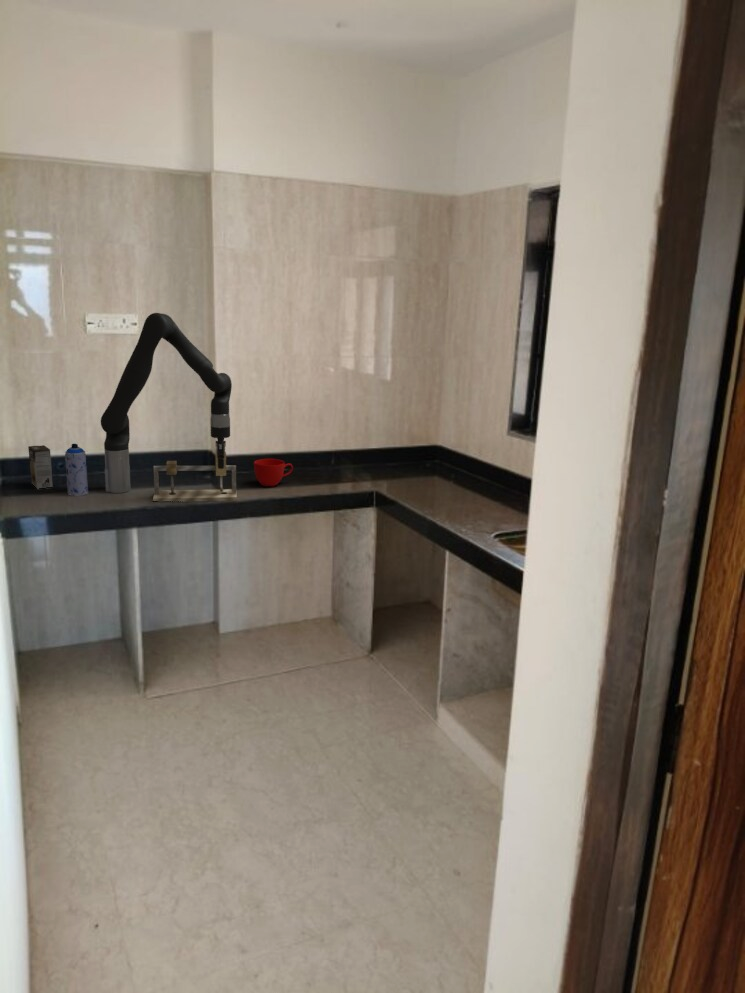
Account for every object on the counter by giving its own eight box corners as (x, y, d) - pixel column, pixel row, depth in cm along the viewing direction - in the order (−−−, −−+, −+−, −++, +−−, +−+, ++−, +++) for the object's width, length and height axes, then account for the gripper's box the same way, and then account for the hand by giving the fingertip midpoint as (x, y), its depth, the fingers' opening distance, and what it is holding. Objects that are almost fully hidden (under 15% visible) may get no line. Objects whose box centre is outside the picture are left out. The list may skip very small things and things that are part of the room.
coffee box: (31, 484, 307) (27, 446, 303) (47, 482, 311) (44, 444, 307) (36, 489, 300) (33, 450, 296) (53, 487, 304) (50, 448, 300)
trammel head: (216, 493, 297) (215, 454, 293) (216, 489, 302) (215, 451, 297) (226, 493, 298) (225, 454, 293) (226, 489, 302) (225, 451, 298)
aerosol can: (67, 491, 299) (63, 442, 294) (88, 490, 302) (85, 441, 297) (67, 496, 292) (63, 446, 287) (88, 495, 295) (85, 445, 290)
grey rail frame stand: (153, 502, 290) (151, 465, 286) (155, 493, 301) (154, 458, 297) (236, 500, 296) (236, 465, 292) (236, 492, 307) (236, 458, 303)
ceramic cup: (296, 487, 320) (297, 464, 317) (257, 489, 314) (257, 466, 311) (288, 479, 331) (288, 457, 329) (251, 481, 325) (250, 459, 322)
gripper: (210, 421, 298) (211, 462, 303) (210, 428, 285) (211, 470, 289) (229, 421, 300) (230, 462, 304) (230, 428, 286) (230, 470, 291)
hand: (221, 466), depth 297 cm, fingers open, 6 cm apart
